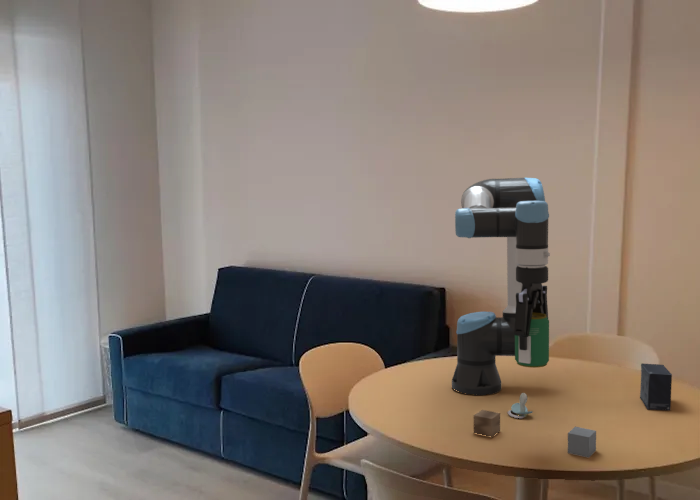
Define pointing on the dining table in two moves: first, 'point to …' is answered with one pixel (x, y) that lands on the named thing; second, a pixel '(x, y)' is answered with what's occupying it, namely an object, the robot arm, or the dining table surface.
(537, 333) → the beverage can
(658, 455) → the dining table surface
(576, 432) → the slate block
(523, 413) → the pacifier
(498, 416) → the walnut block
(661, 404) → the small box
